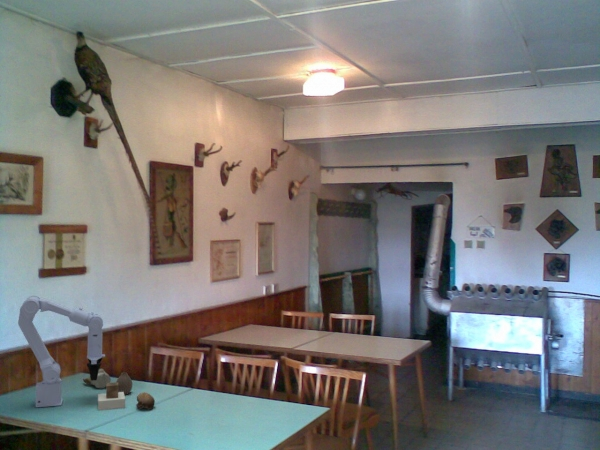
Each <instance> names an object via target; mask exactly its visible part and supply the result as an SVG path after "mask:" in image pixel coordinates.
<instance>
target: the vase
mask: <svg viewBox="0 0 600 450" xmlns="http://www.w3.org/2000/svg"><path fill="white" fill-rule="evenodd" d="M116 382H118V392H124V396H127V395H128V394H130V393H131V391H132V389H133V380H132V379H131V377H130V376H129V375H128V373H127V372H121V373H120V375H119V376H118V378H117V379H116Z"/></svg>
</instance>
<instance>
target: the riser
mask: <svg viewBox="0 0 600 450" xmlns="http://www.w3.org/2000/svg"><path fill="white" fill-rule="evenodd" d="M97 407H98V408H97V409H98V411H104V410H105V411H106V410H115V409H125V408H126V395H124V392H118V398H108V399H106V392H105V393H98V394H97Z"/></svg>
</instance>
